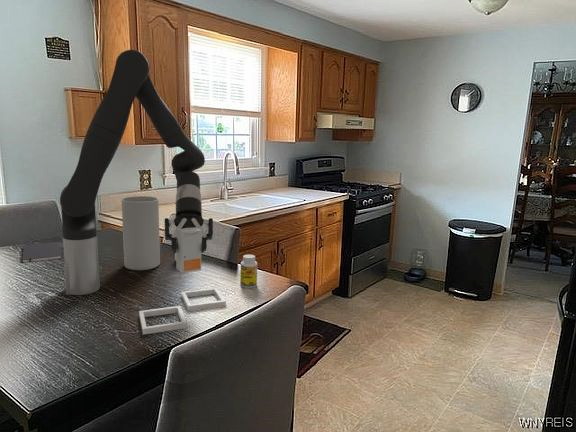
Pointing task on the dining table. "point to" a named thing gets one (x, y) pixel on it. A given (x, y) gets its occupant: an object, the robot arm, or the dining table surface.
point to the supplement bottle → (248, 272)
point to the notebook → (41, 252)
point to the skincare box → (189, 249)
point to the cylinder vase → (141, 232)
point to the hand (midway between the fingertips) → (189, 251)
